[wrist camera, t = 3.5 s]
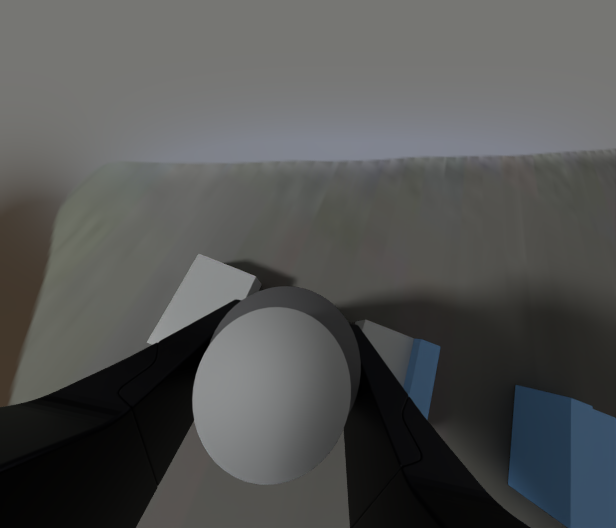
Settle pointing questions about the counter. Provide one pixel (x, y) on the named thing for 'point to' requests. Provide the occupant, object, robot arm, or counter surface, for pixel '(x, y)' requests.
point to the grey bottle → (276, 385)
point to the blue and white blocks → (419, 386)
